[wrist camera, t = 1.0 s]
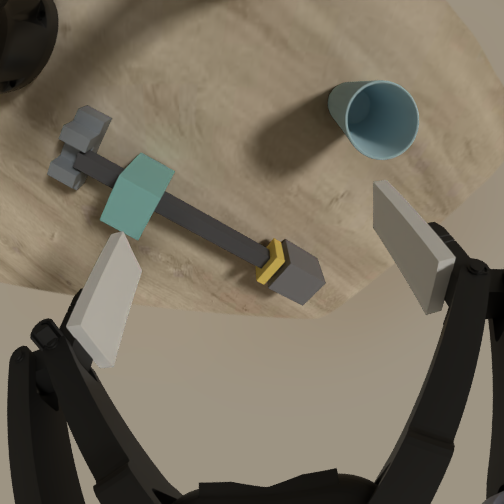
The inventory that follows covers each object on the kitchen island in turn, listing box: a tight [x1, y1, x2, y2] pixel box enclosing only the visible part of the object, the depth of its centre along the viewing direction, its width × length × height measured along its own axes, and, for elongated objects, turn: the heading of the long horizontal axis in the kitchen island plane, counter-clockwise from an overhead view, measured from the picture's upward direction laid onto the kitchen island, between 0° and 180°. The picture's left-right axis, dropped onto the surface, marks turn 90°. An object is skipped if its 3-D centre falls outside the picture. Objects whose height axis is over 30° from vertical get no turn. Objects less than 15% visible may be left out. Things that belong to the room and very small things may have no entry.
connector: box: [267, 239, 326, 305], centre depth 44 cm, size 6×5×6 cm
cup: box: [328, 80, 419, 160], centre depth 30 cm, size 8×8×10 cm
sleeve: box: [100, 153, 175, 240], centre depth 35 cm, size 5×6×8 cm
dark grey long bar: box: [73, 150, 285, 284], centre depth 38 cm, size 34×4×4 cm, turn 56°
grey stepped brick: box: [47, 105, 112, 190], centre depth 33 cm, size 4×10×5 cm, turn 145°
